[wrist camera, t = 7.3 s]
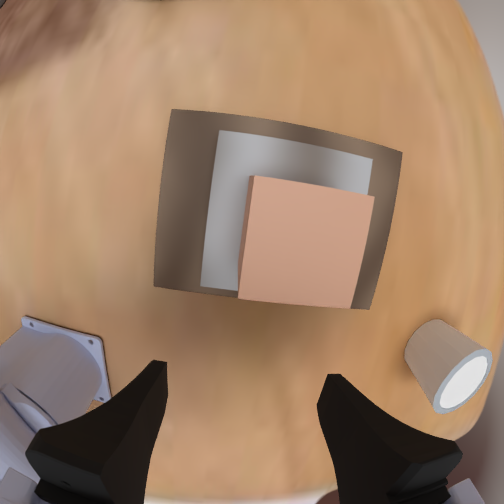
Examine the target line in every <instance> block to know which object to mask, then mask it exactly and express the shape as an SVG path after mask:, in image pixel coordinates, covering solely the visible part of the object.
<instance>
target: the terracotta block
mask: <svg viewBox="0 0 504 504" xmlns="http://www.w3.org/2000/svg"><path fill="white" fill-rule="evenodd" d="M374 198H375V197H374V196H369V195H365V194H360V193H355V192H350V191H345V190H340V189H335V188H330V187H324V186H319V185H313V184H307V183H302V182H296V181H289V180H283V179H276V178H270V177H263V176H256V175H251V176H249V183H248V190H247V197H246V205H245V212H244V220H243V227H242V235H241V243H240V250H239V258H238V299H243V300H253V301H263V302H273V303H284V304H295V305H307V306H320V307H334V308H349V309H350V307H351V303H352V300H353V296H354V292H355V288H356V284H357V280H358V276H359V272H360V268H361V264H362V259H363V255H364V250H365V246H366V241H367V236H368V231H369V226H370V221H371V215H372V210H373V204H374Z"/></svg>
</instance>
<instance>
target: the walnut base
mask: <svg viewBox="0 0 504 504" xmlns="http://www.w3.org/2000/svg"><path fill="white" fill-rule="evenodd" d="M402 153H403V152H400V151H397V150H394V149H391V148H388V147H384V146H381V145H378V144H374V143H371V142H367V141H364V140H360V139H357V138H353V137H349V136H345V135H341V134H337V133H333V132H329V131H325V130H320V129H316V128H311V127H306V126H301V125H296V124H291V123H286V122H280V121H275V120H269V119H262V118H256V117H249V116H241V115H233V114H225V113H215V112H205V111H193V110H177V109H172V110H171V116H170V122H169V128H168V134H167V140H166V147H165V154H164V161H163V169H162V177H161V186H160V195H159V206H158V217H157V229H156V244H155V262H154V286H155V287H161V288H168V289H175V290H182V291H189V292H196V293H204V294H211V295H219V296H227V297H235V298H238V258H239V250H240V243H241V235H242V227H243V220H244V212H245V205H246V197H247V190H248V183H249V176H251V175H256V176H263V177H270V178H276V179H283V180H289V181H296V182H302V183H307V184H313V185H319V186H324V187H330V188H335V189H340V190H345V191H350V192H355V193H360V194H365V195H369V196H374V197H375V198H374V204H373V210H372V215H371V221H370V226H369V231H368V236H367V241H366V246H365V250H364V255H363V259H362V264H361V268H360V272H359V276H358V280H357V284H356V288H355V292H354V296H353V300H352V303H351V307H350V308H351V309H366V310H369V309H370V306H371V303H372V299H373V296H374V292H375V289H376V285H377V281H378V278H379V274H380V270H381V266H382V262H383V258H384V254H385V250H386V245H387V241H388V236H389V232H390V227H391V222H392V217H393V212H394V206H395V201H396V195H397V189H398V182H399V176H400V168H401V161H402Z"/></svg>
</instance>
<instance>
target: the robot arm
mask: <svg viewBox="0 0 504 504" xmlns="http://www.w3.org/2000/svg"><path fill="white" fill-rule="evenodd" d="M21 321H22V327H21V328H20V329H19V330H18V331H17V332H15V333H14V334H13V335H12V336H11V337H10V338H9V339H8V340H6V341H5V342H4V343H3V344H2V345H1V346H0V504H144V496H145V488H146V482H147V475H148V469H149V464H150V458H151V454H152V451H153V448H154V444H155V441H156V438H157V435H158V432H159V429H160V426H161V423H162V420H163V417H164V414H165V409H166V403H167V398H168V383H167V362H163V361H157V360H153V361H151V362H150V363H149V364H148V365H147V367H146V368H145V369H144V370H143V371H142V372H141V373H140V374H139V375H138V376H137V377H136V378H135V379H134V380H132V381H131V382H130V383H129V384H128V385H127V386H126V387H125V388H124V389H122V390H121V391H120V392H119V393H117V394H116V395H115V396H114V397H112V398H111V394H110V388H109V383H108V377H107V371H106V365H105V358H104V351H103V343H102V340H101V339H100V338H99V337H96V336H92V335H88V334H84V333H80V332H77V331H73V330H69V329H66V328H62V327H59V326H55V325H52V324H49V323H45V322H42V321H39V320H36V319H33V318H30V317H27V316H24V317H22V319H21ZM32 323H33V324H32ZM91 340H92V341H93V342H91ZM93 399H94V400H97V401H100V402H104V404H102V405H101V406H99V407H97V408H96V409H94V410H92V411H90V412H88V413H86V412H87V410H88V408H89V406H90V404H91V402H92V401H93ZM317 411H318V416H319V422H320V425H321V428H322V431H323V434H324V437H325V440H326V443H327V446H328V449H329V452H330V455H331V458H332V461H333V465H334V469H335V474H336V479H337V486H338V492H339V500H340V504H485V503H484V501H483V500H482V498H481V496H480V495H479V493H478V491H477V490H476V488H475V487H474V485H473V484H472V482H471V480H470V479H466V480H464V481H462V482H460V483H458V484H456V485H454V486H452V487H451V488H449V489H448V490H447V488H446V486H445V485H447V484H448V481H447V479H446V477H447V476H448V474H449V473H450V472H451V471H452V470H453V469H454V468H455V467H456V465H457V464H458V463H459V462H460V460H461V458H462V455H463V453H462V451H461V450H460V449H459V447H458V446H457V444H456V443H455V441H452V440H447V439H443V438H439V437H435V436H432V435H429V434H427V433H424V432H421V431H419V430H416V429H414V428H412V427H410V426H408V425H406V424H404V423H402V422H400V421H399V420H397V419H395V418H394V417H392V416H391V415H389V414H387V413H386V412H385V411H383V410H382V409H381V408H379V407H378V406H376V405H375V404H374V403H373V402H371V401H370V400H369V399H368V398H367V397H365V396H364V395H363V394H362V393H361V392H360V391H359V390H357V389H356V388H355V387H354V386H353V385H352V384H351V383H350V382H349V381H348V380H346V379H345V378H344V377H343V376H342V375H341V374H328V375H327V378H326V380H325V383H324V386H323V389H322V392H321V394H320V397H319V400H318V403H317ZM85 413H86V414H85Z"/></svg>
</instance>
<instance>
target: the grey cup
mask: <svg viewBox="0 0 504 504" xmlns="http://www.w3.org/2000/svg"><path fill="white" fill-rule="evenodd" d="M404 359H405V361H406V363H407V364H408V366H409V368H410V369H411V371H412V373H413V374H414V376H415V377H416V379H417V381H418V382H419V384H420V386H421V388H422V389H423V391H424V393H425V394H426V396H427V398H428V400H429V401H430V403H431V405H432V407H433V408H434V410H435V412H436V413H440V414H445V413H448V412H452V411H454V410H455V409H457V408H459V407H460V406H462V405H464V404H465V403H466V402H467V401H468V400H469V399H470V398H471V397H472V396H473V395H475V393H476V392H477V391H478V389H479V388H480V387H481V386H482V384H483V383H484V381H485V379H486V377H487V375H488V373H489V372H490V368H491V364H492V353H491V352H490V351H489V350H487V349H486V348H485V347H483V346H481V345H480V344H478V343H477V342H475V341H474V340H472V339H471V338H469V337H468V336H466V335H464V334H463V333H461V332H460V331H458V330H457V329H455V328H453V327H452V326H450V325H449V324H447V323H445V322H444V321H442V320H441V319H435V320H431V321H429V322H426V323H424V324H423V325H422V326H421V327H419V328H418V329H417V330H416V331H415V332H414V334H413V335H412V336H411V338H410V339H409V341H408V343H407V346H406V348H405V357H404Z"/></svg>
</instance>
